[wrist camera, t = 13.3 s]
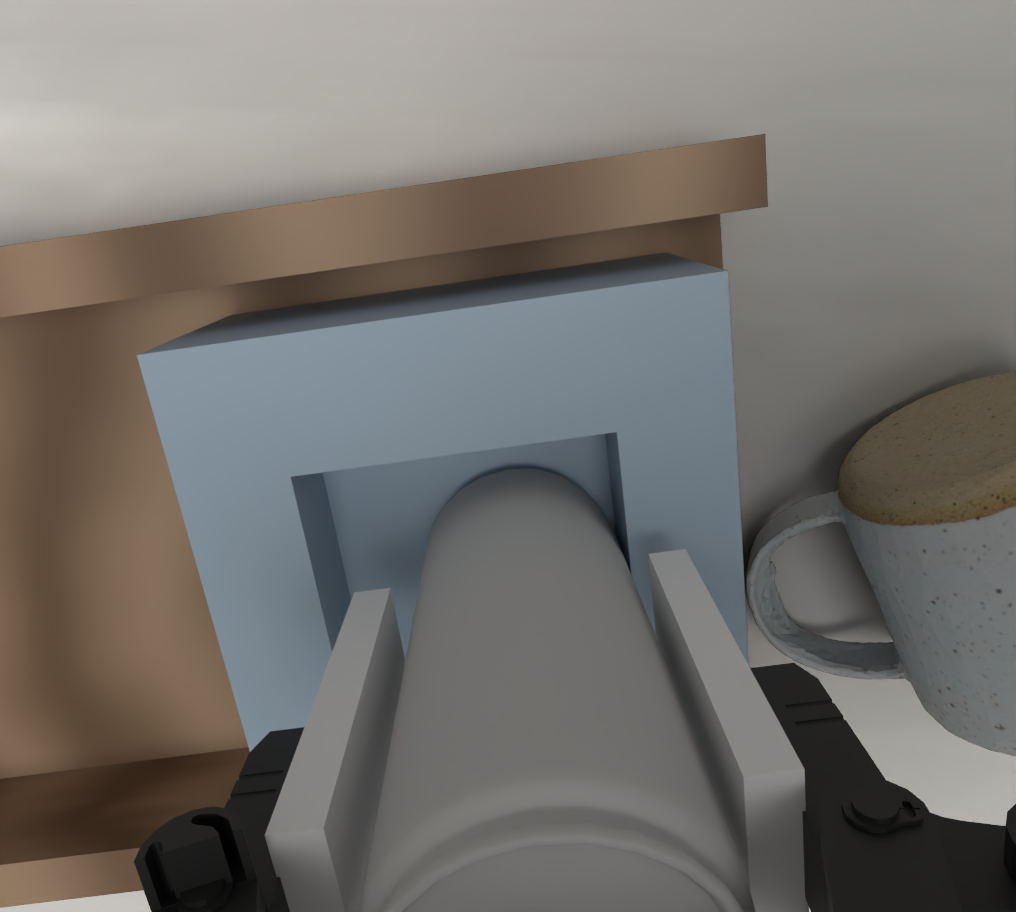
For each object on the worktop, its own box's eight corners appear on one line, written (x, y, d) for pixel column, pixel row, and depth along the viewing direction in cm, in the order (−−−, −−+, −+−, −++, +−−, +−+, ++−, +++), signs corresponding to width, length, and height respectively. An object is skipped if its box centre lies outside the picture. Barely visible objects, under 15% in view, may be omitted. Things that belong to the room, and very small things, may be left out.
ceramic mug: (1009, 330, 23) (1233, 391, 16) (1097, 547, 26) (1330, 687, 18) (688, 501, 25) (760, 626, 18) (796, 691, 27) (899, 871, 20)
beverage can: (465, 433, 19) (426, 769, 8) (646, 497, 20) (856, 897, 8) (402, 600, 21) (290, 1096, 9) (574, 656, 21) (670, 1186, 10)
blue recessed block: (666, 252, 21) (727, 270, 16) (697, 667, 25) (756, 802, 20) (230, 315, 22) (136, 354, 16) (328, 714, 26) (280, 860, 20)
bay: (706, 148, 22) (781, 130, 16) (738, 704, 27) (802, 838, 22) (-207, 283, 23) (-446, 310, 17) (3, 797, 28) (-124, 950, 22)
